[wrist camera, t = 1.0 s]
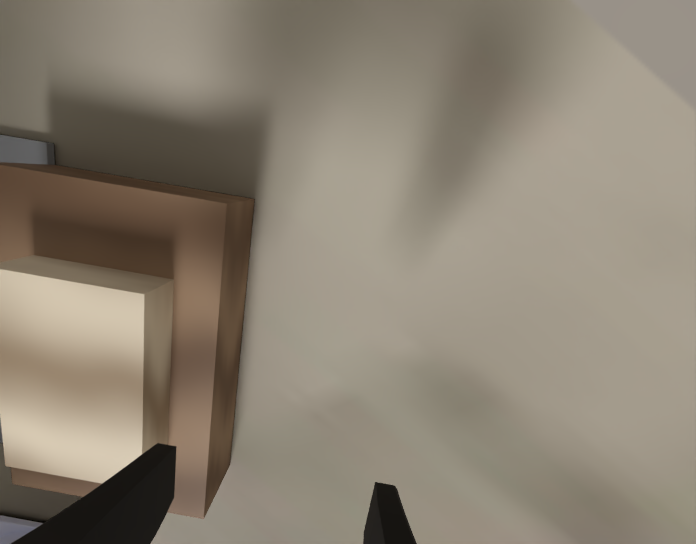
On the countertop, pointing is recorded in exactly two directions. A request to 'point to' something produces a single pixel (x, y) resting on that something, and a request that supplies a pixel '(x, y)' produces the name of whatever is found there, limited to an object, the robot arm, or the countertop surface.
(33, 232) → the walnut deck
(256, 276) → the countertop surface
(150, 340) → the birch tile
